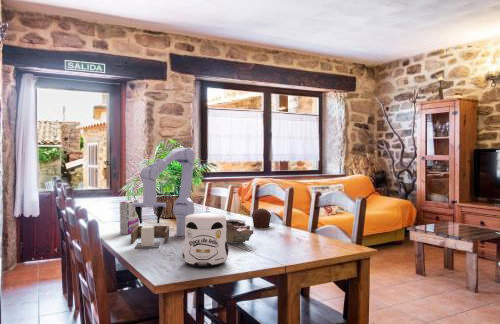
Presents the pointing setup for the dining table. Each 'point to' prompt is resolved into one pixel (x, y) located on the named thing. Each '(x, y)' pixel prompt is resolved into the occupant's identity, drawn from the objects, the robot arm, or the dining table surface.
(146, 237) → the cream block
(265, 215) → the muffin
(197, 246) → the dulce de leche canister
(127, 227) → the candy bar box
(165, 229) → the walnut u-shaped frame
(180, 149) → the robot arm
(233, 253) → the dining table surface
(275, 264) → the dining table surface
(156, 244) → the charcoal mat
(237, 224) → the grey-brown irregular lump
